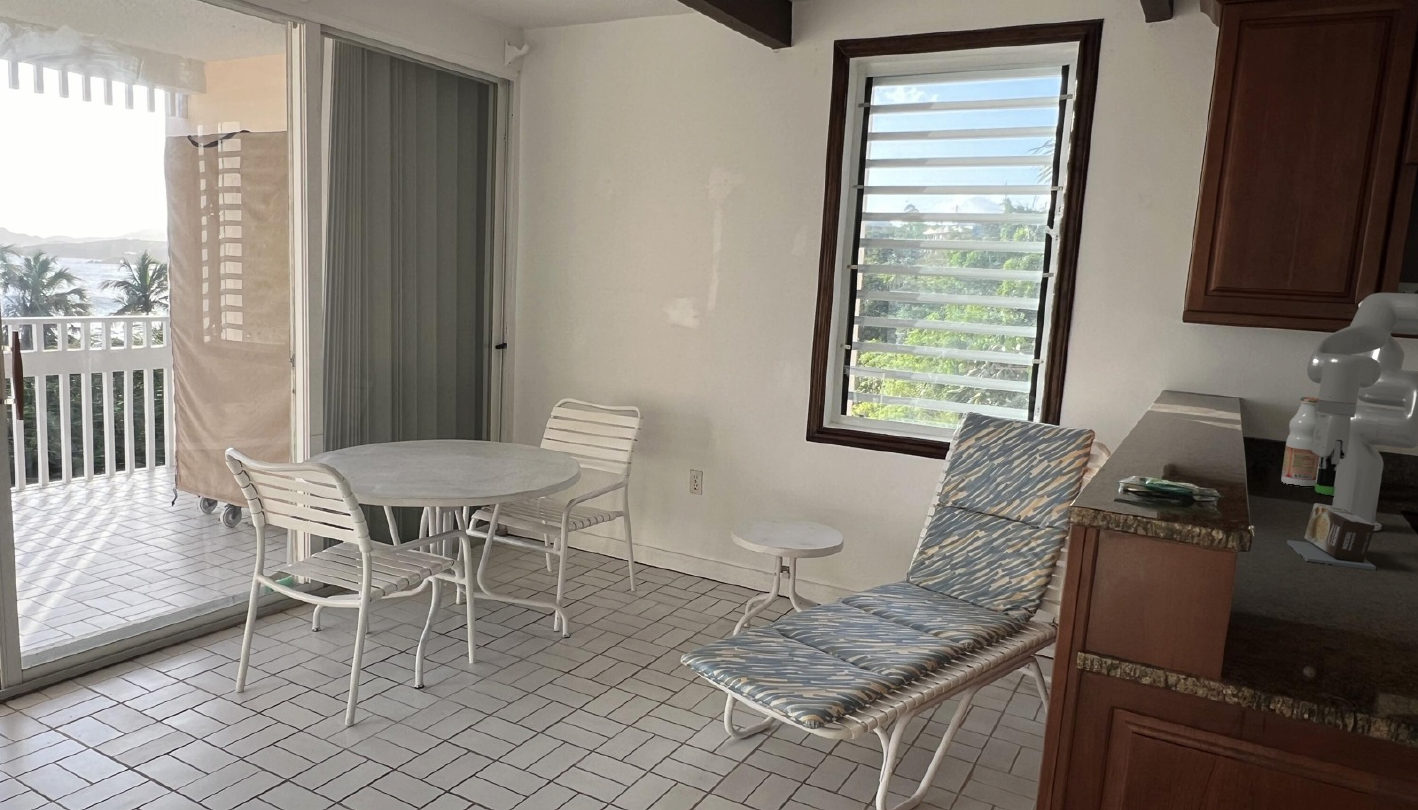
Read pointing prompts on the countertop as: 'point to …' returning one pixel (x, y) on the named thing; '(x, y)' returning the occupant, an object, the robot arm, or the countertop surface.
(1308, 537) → the coffee box
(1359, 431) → the robot arm
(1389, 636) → the countertop surface
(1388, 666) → the countertop surface
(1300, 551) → the rubber mat
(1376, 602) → the countertop surface
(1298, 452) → the fruit juice
